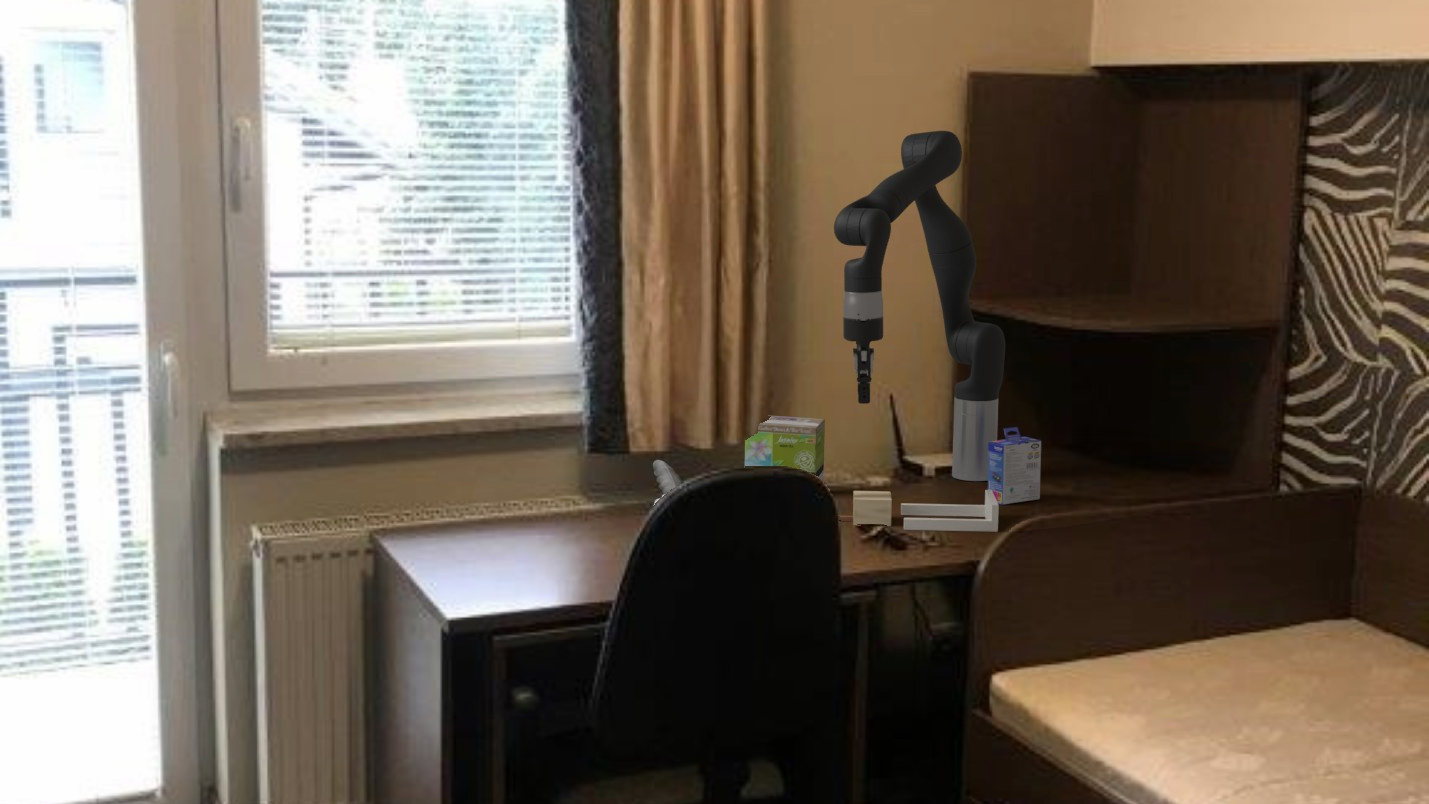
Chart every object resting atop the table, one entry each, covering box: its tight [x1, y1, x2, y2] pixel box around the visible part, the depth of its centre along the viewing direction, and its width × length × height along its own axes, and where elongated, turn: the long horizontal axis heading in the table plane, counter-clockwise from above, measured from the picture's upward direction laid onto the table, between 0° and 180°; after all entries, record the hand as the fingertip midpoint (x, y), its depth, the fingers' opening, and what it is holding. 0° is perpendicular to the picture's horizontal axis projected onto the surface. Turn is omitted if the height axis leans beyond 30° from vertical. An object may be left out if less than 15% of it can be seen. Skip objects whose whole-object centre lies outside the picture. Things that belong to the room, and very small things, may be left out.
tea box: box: [744, 415, 826, 481], centre depth 316 cm, size 15×10×15 cm, turn 76°
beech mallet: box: [839, 490, 893, 527], centre depth 292 cm, size 7×20×6 cm, turn 86°
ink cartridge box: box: [987, 426, 1042, 505], centre depth 308 cm, size 10×6×14 cm, turn 120°
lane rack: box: [900, 489, 1000, 533], centre depth 291 cm, size 12×17×5 cm
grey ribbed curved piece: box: [652, 459, 684, 506], centre depth 295 cm, size 9×18×10 cm, turn 22°
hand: (863, 398), depth 294 cm, fingers open, 8 cm apart
